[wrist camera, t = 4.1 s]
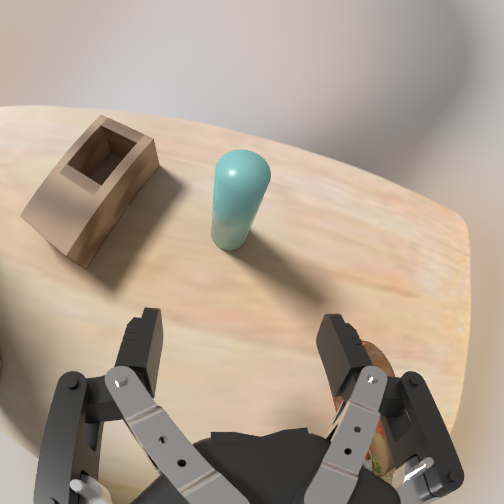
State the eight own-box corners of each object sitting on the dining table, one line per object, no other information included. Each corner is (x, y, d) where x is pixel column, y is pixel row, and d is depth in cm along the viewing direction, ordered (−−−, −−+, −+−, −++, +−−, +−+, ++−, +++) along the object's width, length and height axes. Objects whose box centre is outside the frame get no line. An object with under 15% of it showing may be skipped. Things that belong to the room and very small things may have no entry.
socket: (86, 268, 26) (65, 256, 21) (41, 232, 26) (19, 216, 22) (159, 165, 31) (153, 138, 26) (111, 140, 31) (101, 114, 26)
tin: (319, 346, 28) (359, 348, 20) (345, 336, 28) (390, 334, 20) (347, 462, 24) (385, 491, 16) (370, 451, 25) (412, 474, 17)
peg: (235, 256, 29) (254, 206, 18) (204, 239, 29) (204, 179, 18) (252, 228, 30) (279, 166, 19) (222, 211, 30) (233, 141, 19)
